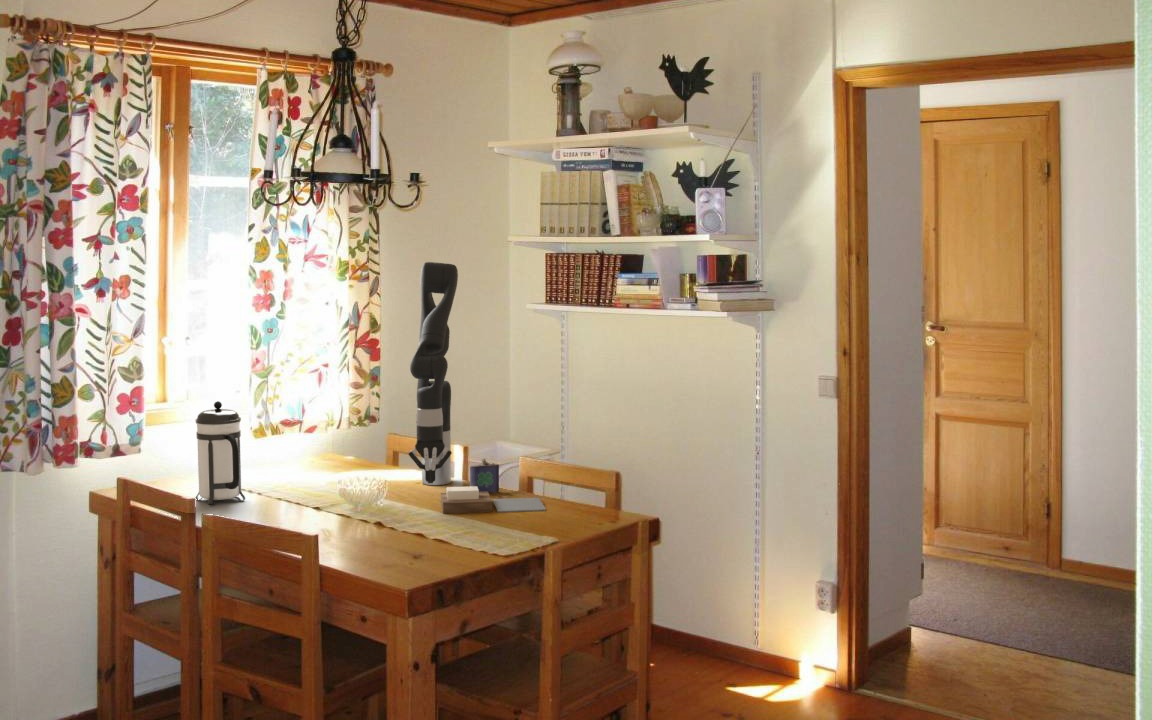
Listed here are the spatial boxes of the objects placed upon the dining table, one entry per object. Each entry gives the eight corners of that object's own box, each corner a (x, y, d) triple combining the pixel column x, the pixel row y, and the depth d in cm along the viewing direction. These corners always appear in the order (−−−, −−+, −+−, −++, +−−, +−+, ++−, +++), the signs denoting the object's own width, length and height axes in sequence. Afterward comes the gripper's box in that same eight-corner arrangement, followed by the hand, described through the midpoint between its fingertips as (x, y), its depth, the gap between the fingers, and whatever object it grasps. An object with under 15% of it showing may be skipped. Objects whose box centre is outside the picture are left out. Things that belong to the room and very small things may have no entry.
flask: (470, 495, 339) (470, 460, 338) (468, 493, 341) (468, 459, 340) (500, 493, 342) (499, 459, 341) (497, 491, 344) (497, 457, 343)
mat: (492, 500, 331) (492, 499, 331) (538, 498, 333) (538, 497, 333) (497, 512, 315) (497, 511, 315) (546, 510, 318) (546, 509, 317)
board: (440, 502, 327) (440, 492, 327) (487, 501, 330) (487, 491, 329) (443, 513, 314) (443, 503, 313) (492, 511, 316) (492, 501, 316)
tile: (446, 495, 323) (446, 487, 323) (477, 494, 325) (477, 486, 325) (447, 499, 318) (447, 491, 317) (478, 498, 319) (478, 490, 319)
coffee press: (182, 506, 322) (179, 404, 319) (209, 494, 338) (206, 397, 335) (238, 508, 319) (235, 405, 317) (262, 496, 335) (260, 399, 332)
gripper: (451, 421, 322) (452, 479, 324) (406, 422, 320) (407, 481, 322) (453, 424, 315) (454, 484, 316) (406, 425, 313) (407, 486, 314)
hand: (430, 482), depth 319 cm, fingers closed
